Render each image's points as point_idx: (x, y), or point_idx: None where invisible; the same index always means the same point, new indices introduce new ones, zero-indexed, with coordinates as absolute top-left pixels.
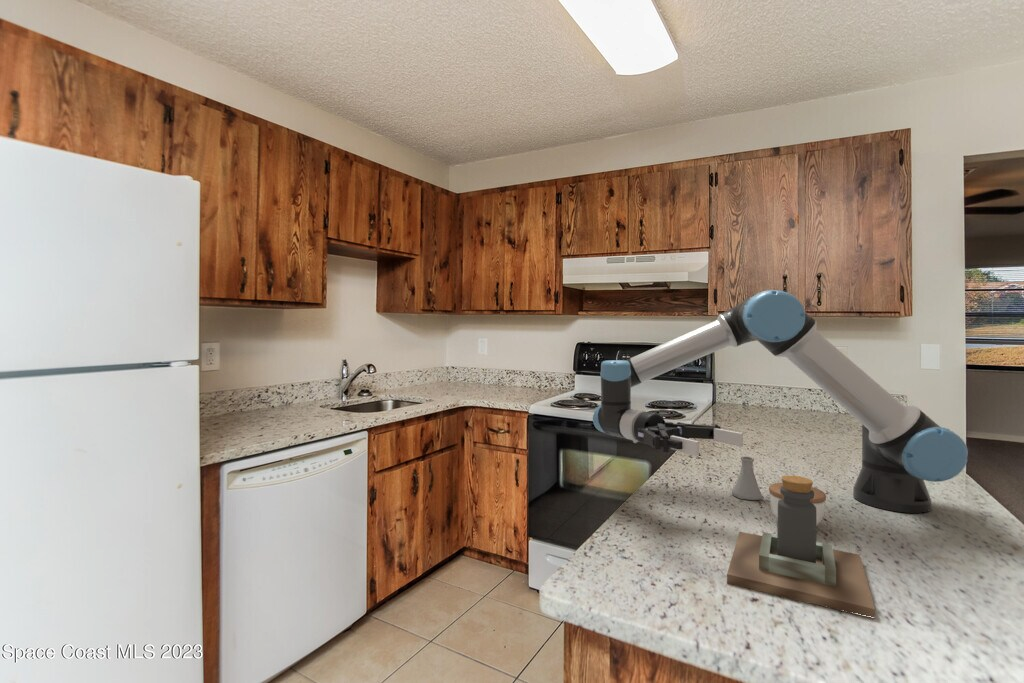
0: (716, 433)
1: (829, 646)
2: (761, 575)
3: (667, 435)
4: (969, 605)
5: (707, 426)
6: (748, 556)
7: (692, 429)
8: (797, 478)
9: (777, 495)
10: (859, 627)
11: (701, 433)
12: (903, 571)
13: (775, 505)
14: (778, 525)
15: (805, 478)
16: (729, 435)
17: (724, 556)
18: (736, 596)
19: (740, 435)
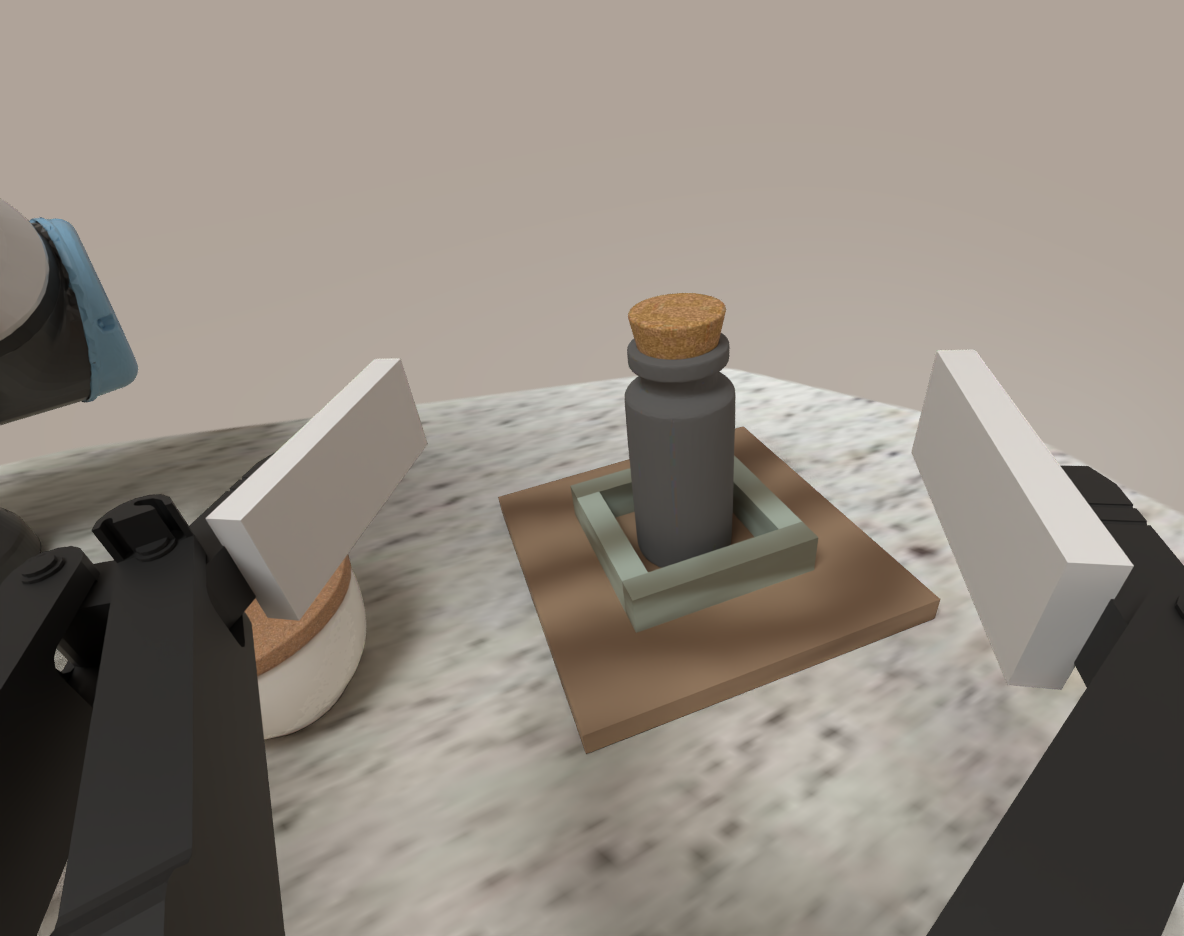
0: (282, 536)
1: (907, 444)
2: (839, 553)
3: (1136, 639)
4: (558, 409)
5: (20, 656)
6: (765, 619)
7: (213, 766)
8: (664, 311)
9: (319, 624)
10: (795, 444)
11: (232, 694)
12: (485, 470)
13: (324, 669)
14: (720, 473)
15: (643, 305)
16: (360, 440)
17: (786, 710)
18: (961, 576)
19: (404, 372)
